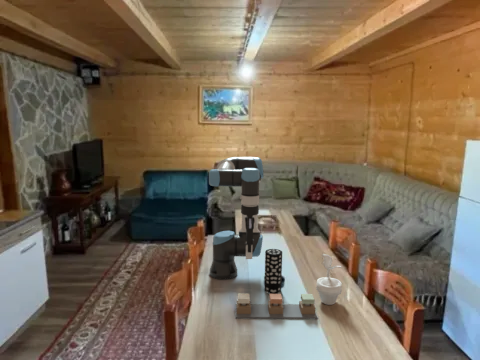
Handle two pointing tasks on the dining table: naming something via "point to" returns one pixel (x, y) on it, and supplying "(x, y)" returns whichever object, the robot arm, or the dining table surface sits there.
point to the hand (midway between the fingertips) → (248, 257)
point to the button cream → (243, 299)
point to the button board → (275, 311)
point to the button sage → (307, 299)
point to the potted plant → (328, 283)
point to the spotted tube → (273, 271)
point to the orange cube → (275, 299)
